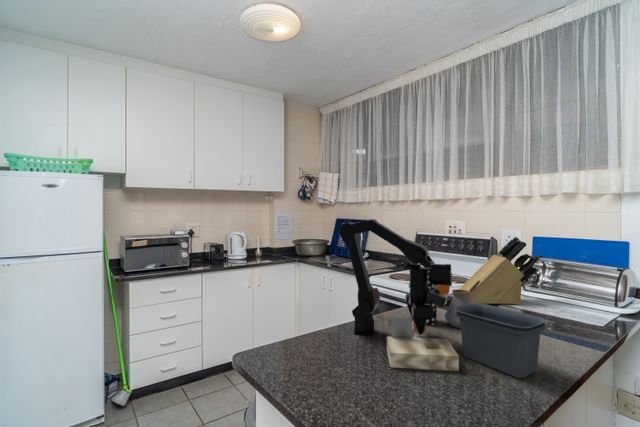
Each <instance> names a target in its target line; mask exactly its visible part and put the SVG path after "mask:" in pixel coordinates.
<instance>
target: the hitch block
mask: <svg viewBox="0 0 640 427" xmlns="http://www.w3.org/2000/svg"><path fill="white" fill-rule="evenodd" d="M386 353H387V357H388V362H389V367H390V368H396V369H397V368H398V369H400V368H401V369H413V370H431V371H447V372H448V371H449V372H451V371H452V372H459V371H460V366H459V365H460V355H459V354H458V353H457V351H456V350H455V349H454V347H453V346H452V344H451V342H450V341H449V340H448V339H447V338H431V337H430V338H429V337H423V338H414V336H412V338H395V337H392V335H391V336H390V335H389V336H386Z"/></svg>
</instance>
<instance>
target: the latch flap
mask: <svg viewBox="0 0 640 427" xmlns="http://www.w3.org/2000/svg"><path fill="white" fill-rule="evenodd" d="M391 337H395V338H412V337H413V330H412V317H404V316H403V317H401V316H399V317H398V316H391Z"/></svg>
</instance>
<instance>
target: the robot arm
mask: <svg viewBox="0 0 640 427" xmlns="http://www.w3.org/2000/svg"><path fill="white" fill-rule="evenodd" d="M338 232H339V233H338V234H339V235H340V238H341V239H342V240H341V241H342V242H343V244H344V245H345V247H346V248H347V251H348V254H349V257H350V258H349V259H350V261H351V265H352V269H353V273H354V277H355V281H356V284H357V288H358V289H357V290H358V291H357V303H358V304H357V305H356V306H355V308H353V309H352V310H351V314H352V316H353V318H354V328H353V329H354V330H353V334H354V335H363V336H364V335H365V336H366V335H367V336H373V335H374V332H375V318H374V317H373V312H374V310H375V309H377V308H378V307H379V304H380V300H381V297H380V294H379V289H378V287H373V285H372V283H371V281H370V278H369V274H368V269H367V267H366V262H365V259H364V255H363V252H362V248H361V240H362V239H361V238H362V236H361V234H363V233H367V232H371V233H372V234H375V235H376V236H377V237H379V238H381V239H383V240H384V241H385V242H387V243H389V244H390V245H392V246H393V247H395V248H397V249H398V250H399V251H400V252H401V253H402V254H403V255H404V257H406V258H407V259H408V260H409V261H407V263H406V264H405V265H404V266H403V269H404V270H409V284H408V288H409V292H407V293H406V294H405V300H404V301H405V302H406V304H405V305H406V307H407V308H408V311H409V314H410V316H411V317H410V318H412V319H414V322H415V325H416V328H417V330H418V333H419V334H421V335H422V334H423V335H424V332H423V330H424V327H425V323H426V320H427V319H429V318H431V317H434V310H433V309H432V307H431V306H430V305H427V304H430V302H431V303H434V304H436V305H437V306H439V308H444V306H445V305H444V304H445V301H446V297H445V296H443V295H442V294H440V291H439V290H438V289H435V288H434V289H433V290H432V291H431V290H430V289H429V287H428V271H429V281H431V282H433V284H435V285H446V286H450V287H452V285H453V273H452V264H451V263H445V264H444V263H443V264H442V263H435V261H434V260H433V259H432V258H431V255H429V249H428V248H427V246H425V245H424V244H422V243H419V242H417V241H413V240H410V239H407V238H405V237H403V236H402V235H400V234H398V233H397V232H395V231H393V230H392V229H390V228H388V226H387V227H386V226H385V225H384V224H382V223H381V222H379V221H378V220H377V219H374V218H373V219H371V218H370V219H367V220H365V221H360V222H345V223H343V224H341V225H340V227H339V230H338Z"/></svg>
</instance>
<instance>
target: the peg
mask: <svg viewBox="0 0 640 427" xmlns="http://www.w3.org/2000/svg"><path fill="white" fill-rule="evenodd" d="M426 332H427V325H426V323H425V327H424V330H423V334H422V335H421V334H419V333H418V330H417V328H416V325H415V322H414V319H412V333H413V338H424V333H426Z"/></svg>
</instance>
